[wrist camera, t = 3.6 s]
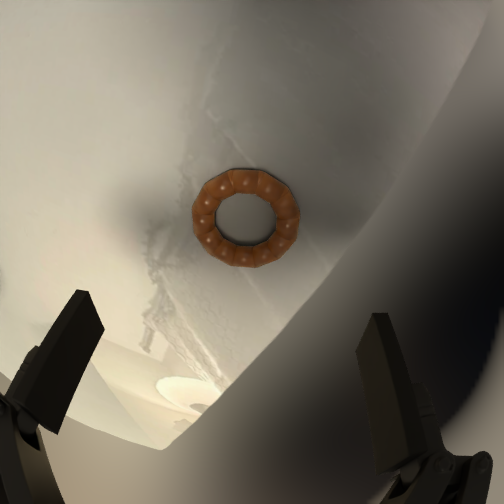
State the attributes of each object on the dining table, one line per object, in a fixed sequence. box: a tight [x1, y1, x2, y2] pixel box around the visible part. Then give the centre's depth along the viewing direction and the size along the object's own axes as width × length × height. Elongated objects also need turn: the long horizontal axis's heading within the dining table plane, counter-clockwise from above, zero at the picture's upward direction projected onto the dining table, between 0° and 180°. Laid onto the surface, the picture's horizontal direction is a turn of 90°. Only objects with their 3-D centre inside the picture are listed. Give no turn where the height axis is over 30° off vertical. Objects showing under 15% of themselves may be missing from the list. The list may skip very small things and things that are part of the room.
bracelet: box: [192, 169, 300, 268], centre depth 20 cm, size 8×8×2 cm
